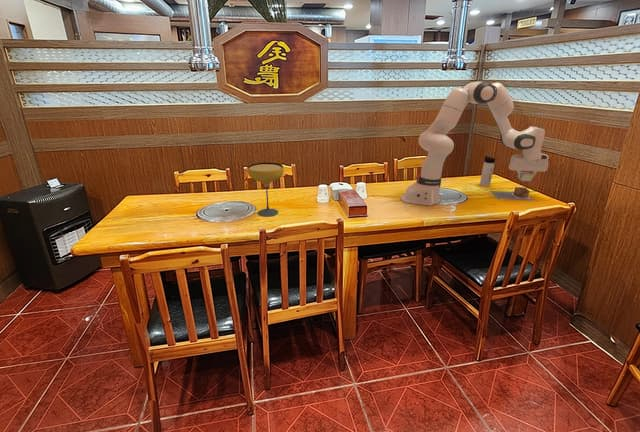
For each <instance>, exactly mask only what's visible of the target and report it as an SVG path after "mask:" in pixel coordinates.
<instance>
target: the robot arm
mask: <svg viewBox="0 0 640 432" xmlns="http://www.w3.org/2000/svg"><path fill="white" fill-rule="evenodd" d="M513 101H514V100H513V99H512V97H511V95H510V93H509V91H508V90H507V88H506V87H505V86H504V85H503V84H502V83H501V82H492V83H490V82H488V81H480V80H479V81H477V80H476V81H470V82H467V83H465V84H463V85H462V86H461V87H455V88H453V89H452V90H451V91H450V93H449V94H448V95H447V97H446V98H445V100H444V102H443V104H442V105H441V108H440V110H439V112H438V114H437V116H436V118H435V119H434V121H433V122H432V123H431V124H430V125H429V127H428V128H427V129H426V130H425V131H423V132H422V133H421V134H420V135H419V137H418V144H419V146H420V147H421V149H423V150H424V151H426V152H428V153H427V156H426V158H425V160H423V162H422V164H421V170H420V171H421V172H420V175H418V174H416V175H415V176H414V177H415V179H416V182H414V183H412V184H411V185H409V186H407V188H406V189H405V192H404V193H402V194H401V195H400V200H401V202H403V203H405V204H413V205H421V206H430V207H431V206H433V205H436V204H440V203H441V199H440V198H441V197H440V196H441V195H440V188H441V186H442V174H443V173H442V172H443V166H444V164H445V163H444V162H445V161H446V158H447V157H448V156H449V155H450V154H451V153H452V152H453V150H454V147H455V144H454V141H453V140H452V138H450V137H449V136H448V135H447V134H448V133H449V132H450V131H451V130H452V129H454V128H455V127H456V126H457V124H458V122H459V120H460V118H461V116H462V115H463V112H464V110H465V108H466V107H467V106H468V104H470V103H471V104H472V105H473V104H474V105H479V104H481V105H484V104H487V106H488V108H489V110H490V112H491V114H492V116H493V120H494V121H495V124H496V126H497V129H498V132H499V133H500V134H499V135H500V136H499V137H500V143H501V144H502V145H503V146H504V147H508V148H512V149H514V150H516V151H517V150H518V151H522V153H521V154H517V153H516V154H515V153H514V154H512V155H511V156H510V159H509V160H510V162H509V164H508V169H509V171H516V172H517V178H518V179H519V178H521V177H522V175H520V172H532V173H531V174H532V179H531V180H533V179H534V176H536V174H537V173H538V172H539V173H540V172H547V171H548V169H549V164H550V163H549V159H550V156H549V155H548V154H546V153H543V152H542V146H543V144H544V139H545V135H546V129H545V128H544V127H541V126H537V125H530V126H529V127H528V128H526V129H524V130H521V131H519V130H516V129H514V128H513V127H512V125H511V122H510V119H509V118H508V116H510V115H511V114H512V112H513V111H514V108H515V105H514V102H513Z"/></svg>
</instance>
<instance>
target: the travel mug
mask: <svg viewBox="0 0 640 432" xmlns="http://www.w3.org/2000/svg"><path fill="white" fill-rule="evenodd" d="M483 159H484V161H483V166H482V171H481V175H480V181H479V186H481V187H484V188H490V186H491V184H492V183H491V182H492V179H493V178H492V176H493V173H494V167H495V163H496V158H495V157H493V156H486V155H485V156H484V158H483Z"/></svg>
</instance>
